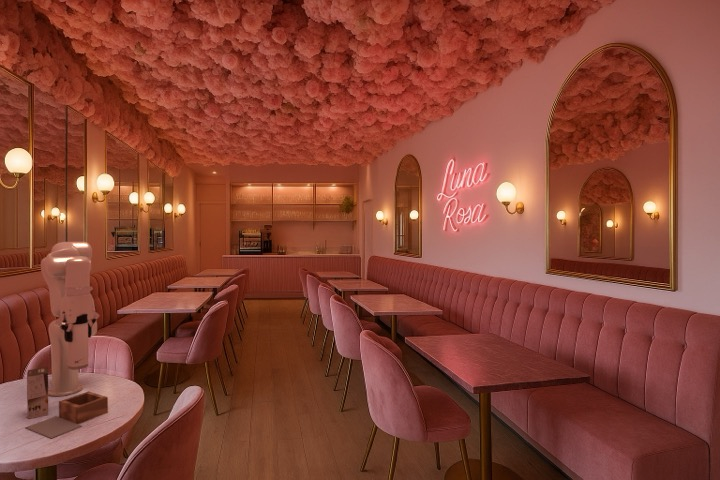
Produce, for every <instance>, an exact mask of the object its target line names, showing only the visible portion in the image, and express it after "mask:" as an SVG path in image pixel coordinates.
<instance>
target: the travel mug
mask: <svg viewBox="0 0 720 480" xmlns="http://www.w3.org/2000/svg"><path fill="white" fill-rule="evenodd" d="M87 316H88V314H84V315H82V316H78V317H77V318H76V322H75V323H73V325H72V328H71V330H70V331H72V342H68V368H69V369H71V370H77V369H78V370H82V369H85V368H87V367H88V366H89V338H88V319H87Z"/></svg>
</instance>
